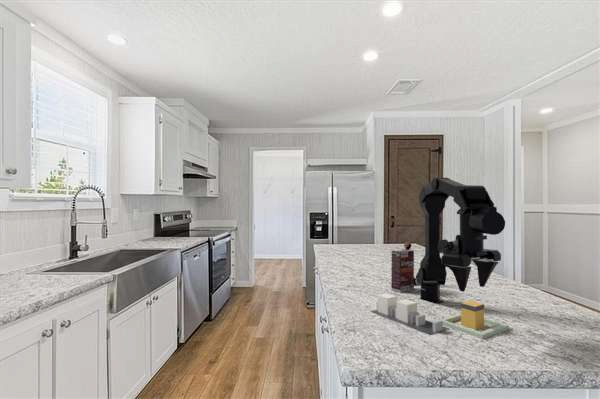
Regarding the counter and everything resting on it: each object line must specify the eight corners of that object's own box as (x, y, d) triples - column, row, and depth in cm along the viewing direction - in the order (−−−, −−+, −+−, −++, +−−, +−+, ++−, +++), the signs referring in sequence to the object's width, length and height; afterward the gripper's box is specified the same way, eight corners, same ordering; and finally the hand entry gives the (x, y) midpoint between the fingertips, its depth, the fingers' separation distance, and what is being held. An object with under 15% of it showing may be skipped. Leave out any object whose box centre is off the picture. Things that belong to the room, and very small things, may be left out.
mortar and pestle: (397, 281, 147) (397, 241, 147) (412, 281, 148) (411, 241, 148) (403, 285, 140) (403, 243, 141) (418, 285, 141) (418, 242, 141)
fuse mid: (406, 316, 98) (405, 299, 98) (417, 320, 95) (416, 302, 95) (396, 318, 96) (396, 301, 96) (407, 322, 93) (407, 305, 93)
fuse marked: (469, 325, 93) (469, 300, 93) (484, 330, 89) (484, 304, 89) (461, 328, 91) (460, 302, 91) (475, 333, 87) (475, 306, 87)
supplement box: (400, 292, 129) (400, 252, 129) (390, 290, 133) (390, 250, 133) (414, 289, 134) (414, 250, 134) (405, 287, 138) (404, 248, 138)
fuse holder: (388, 311, 107) (388, 299, 107) (449, 334, 88) (449, 319, 88) (369, 316, 103) (369, 303, 103) (430, 341, 84) (430, 325, 84)
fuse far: (387, 309, 105) (387, 293, 105) (396, 312, 101) (396, 296, 101) (378, 311, 103) (377, 295, 103) (387, 315, 99) (387, 298, 99)
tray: (464, 320, 99) (464, 311, 99) (508, 334, 88) (508, 324, 88) (438, 328, 92) (438, 319, 92) (482, 344, 82) (482, 334, 82)
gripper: (463, 228, 102) (464, 279, 102) (424, 231, 92) (424, 287, 92) (501, 230, 93) (502, 286, 92) (461, 234, 83) (462, 296, 83)
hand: (472, 288), depth 90 cm, fingers open, 9 cm apart
